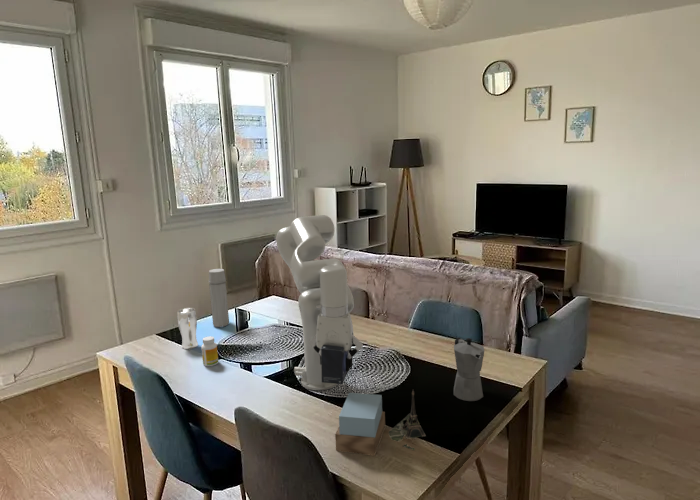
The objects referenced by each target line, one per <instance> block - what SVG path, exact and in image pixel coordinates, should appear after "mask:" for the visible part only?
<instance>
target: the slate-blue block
mask: <svg viewBox="0 0 700 500" xmlns="http://www.w3.org/2000/svg"><path fill="white" fill-rule="evenodd" d="M382 395H383V394H373V393H372V394H370V393H360V392H359V393H357V392H348V395H347V396H346V398H345V401H344V403H343V406H342V408H341V410H340V412H339V415H338V428H339V430H340V434H342V435H353V436H363V437H374V438H375V436H376V433H377V429H378V425H379V422H380V418H381V415H382V411H383V397H382Z"/></svg>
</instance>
